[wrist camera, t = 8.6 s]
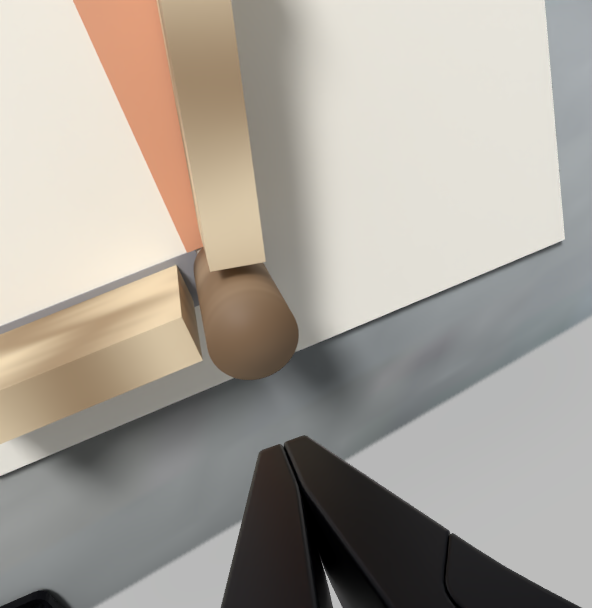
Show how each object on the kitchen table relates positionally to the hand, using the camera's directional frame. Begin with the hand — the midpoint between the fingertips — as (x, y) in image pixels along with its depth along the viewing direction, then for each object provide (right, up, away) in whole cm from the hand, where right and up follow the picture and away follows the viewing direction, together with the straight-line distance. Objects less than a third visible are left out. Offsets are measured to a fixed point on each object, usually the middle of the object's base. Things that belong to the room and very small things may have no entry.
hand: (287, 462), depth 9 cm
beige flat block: (-8, +2, +9) cm, 12 cm away
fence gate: (-3, +9, +7) cm, 12 cm away
